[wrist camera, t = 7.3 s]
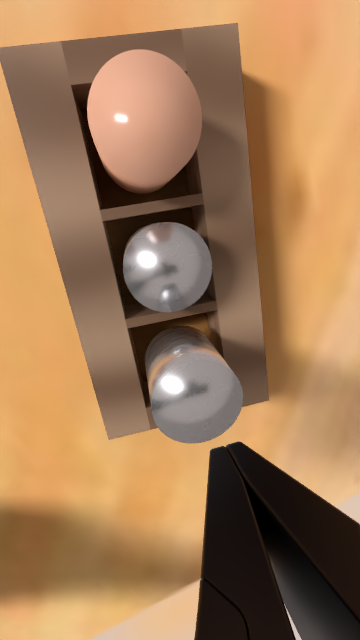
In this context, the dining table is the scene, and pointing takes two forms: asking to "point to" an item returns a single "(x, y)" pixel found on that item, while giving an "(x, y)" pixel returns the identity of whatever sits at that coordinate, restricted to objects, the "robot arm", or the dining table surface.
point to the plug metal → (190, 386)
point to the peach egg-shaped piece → (143, 119)
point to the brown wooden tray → (143, 207)
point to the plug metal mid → (166, 266)
